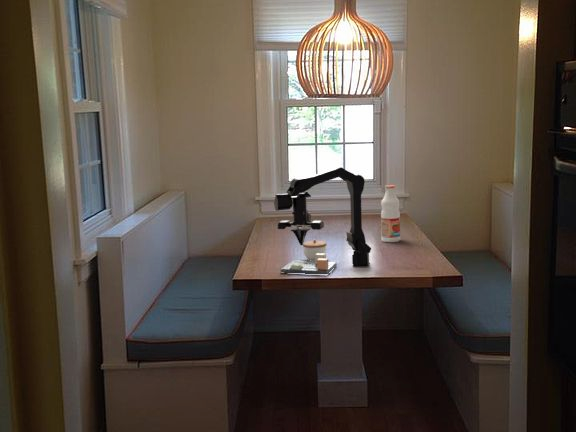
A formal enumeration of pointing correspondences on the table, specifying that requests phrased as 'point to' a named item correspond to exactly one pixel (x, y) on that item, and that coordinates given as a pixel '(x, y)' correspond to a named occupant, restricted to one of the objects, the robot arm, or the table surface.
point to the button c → (296, 266)
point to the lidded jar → (313, 248)
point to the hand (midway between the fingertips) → (301, 245)
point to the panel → (308, 267)
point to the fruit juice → (390, 216)
